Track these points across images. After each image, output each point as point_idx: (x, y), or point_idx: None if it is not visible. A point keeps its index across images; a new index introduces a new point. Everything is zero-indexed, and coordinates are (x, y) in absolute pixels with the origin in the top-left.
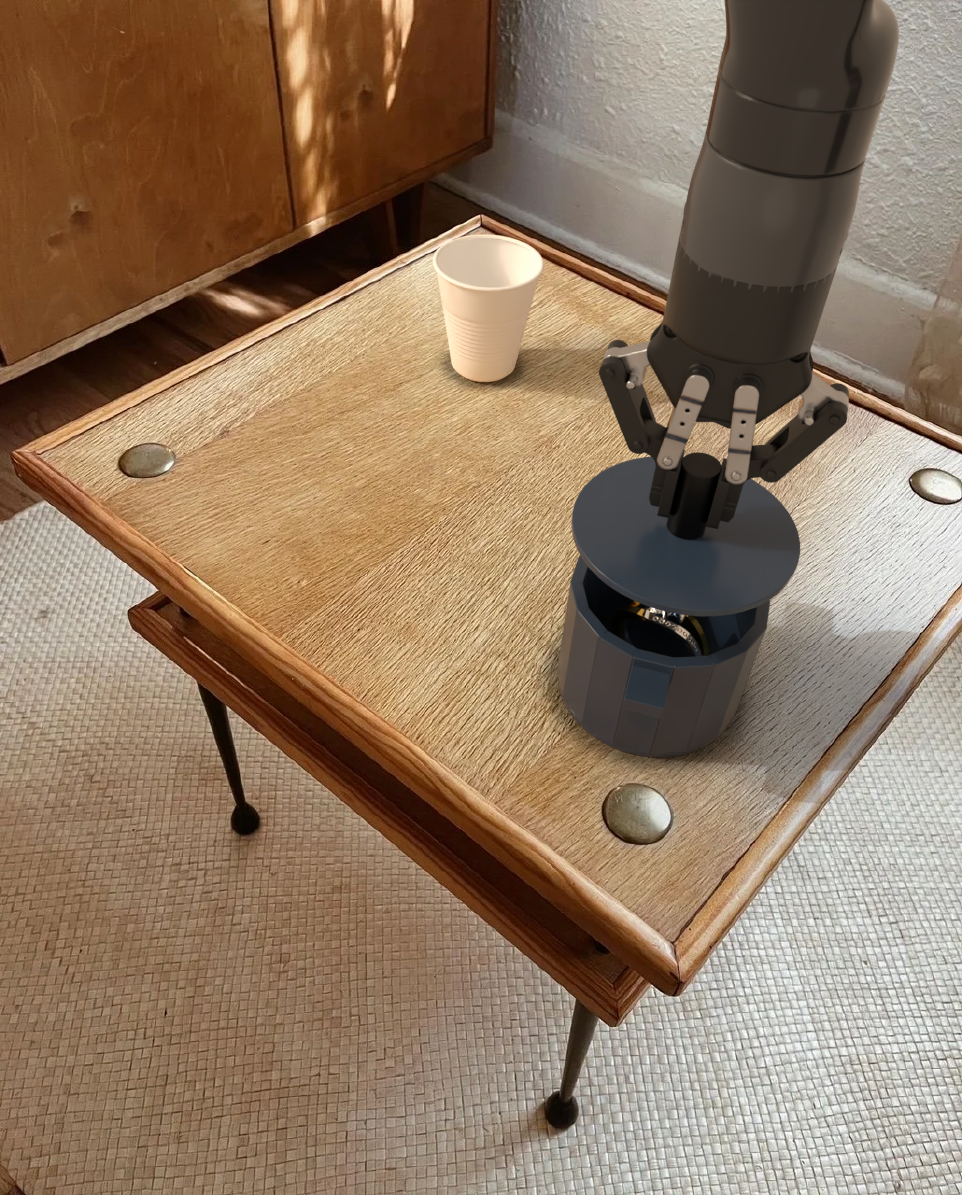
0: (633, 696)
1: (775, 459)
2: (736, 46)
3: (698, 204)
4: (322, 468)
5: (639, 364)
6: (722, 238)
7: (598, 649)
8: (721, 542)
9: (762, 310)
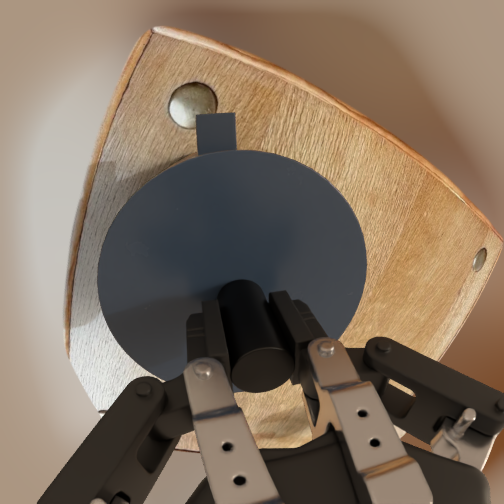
0: (227, 118)
1: (142, 418)
2: None
3: None
4: (426, 295)
5: (468, 451)
6: None
7: None
8: (191, 294)
9: None
